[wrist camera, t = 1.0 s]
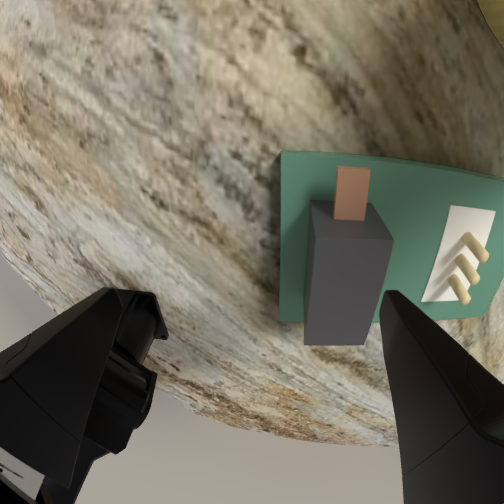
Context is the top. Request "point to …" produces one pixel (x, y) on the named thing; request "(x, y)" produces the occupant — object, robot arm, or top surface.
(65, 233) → the top surface
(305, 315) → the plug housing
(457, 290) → the board
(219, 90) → the top surface
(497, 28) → the potted cactus
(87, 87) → the top surface
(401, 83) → the top surface
